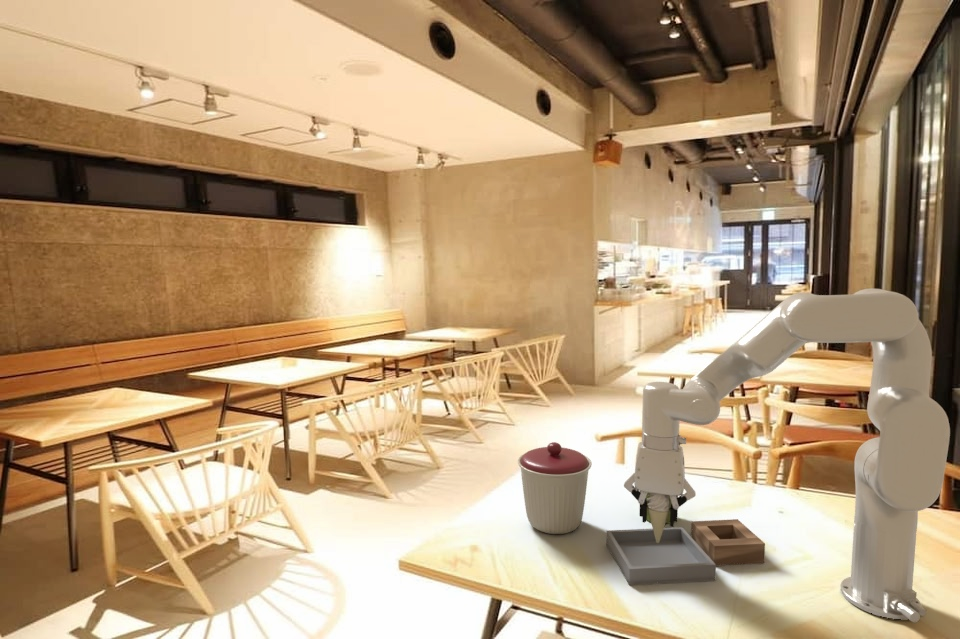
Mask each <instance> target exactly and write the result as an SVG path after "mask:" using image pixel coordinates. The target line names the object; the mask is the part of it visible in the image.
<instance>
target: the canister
mask: <svg viewBox="0 0 960 639" xmlns="http://www.w3.org/2000/svg"><path fill="white" fill-rule="evenodd" d="M517 464H518V466H519V468H520V474H521V482H522V491H523V499H524V506H525V512H526V517H527V520H528V522H529V523H530V525H531V526H532V527H533V528H534V529H536V530H537V531H539V532H542V533H545V534H549V535H551V534H552V535H562V534H570V533H572V531H575V530H576V529H578V527H579V526H580V524H581V523H582V520H583V514H584V509H585V502H586V495H587V487H588V486H587V485H588V479H589V470H590V469H591V467H592V461H591V459H590V458H589V457H588V456H586V455H585V454H583V453H581V452H580V451H577V450H574V449H571V448H567V447H562V445H561V444H560V443H559V442H549V443H548V445H547V446H543V447H537V448H534V449H530V450H528V451H527V452H525V453H523V454H521V455H520V456H519V457H518V458H517Z"/></svg>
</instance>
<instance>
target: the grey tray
mask: <svg viewBox="0 0 960 639" xmlns="http://www.w3.org/2000/svg"><path fill="white" fill-rule="evenodd" d="M605 536H606V540H605V541H606V547H607V549H608V550H609V552H610V554H611V555H612V557H613V558H612V559H614V562H615V563H616V564H617V566H618V568H619V571H621V574H622V575H623V577H624V579H625V580H626V582H627V584H628V585H629V586H641V585H642V586H643V585H658V584H659V585H660V584H678V583H679V584H681V583H697V582H699V583H700V582H716V568H717V566H716V564H715V563H714V562H713V561H712V560H711V559H710V558H709V556H708V555H707V554H706V553H705V552H704V551H703V550H702V549H701V547H700V546H699V545H698V544H697V543H696V542H695V541H694V540H693V538H692V537H691V534H689V532H687V530H686V529H685V528H684V527H679V526H678V527H676V526H675V527H664V529H663V532H662V535H661V538H660V541H659V543H657V542H656V538H655V534H654V531H653V528H637V529H635V528H634V529H633V528H632V529H613V530H606V535H605Z"/></svg>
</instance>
